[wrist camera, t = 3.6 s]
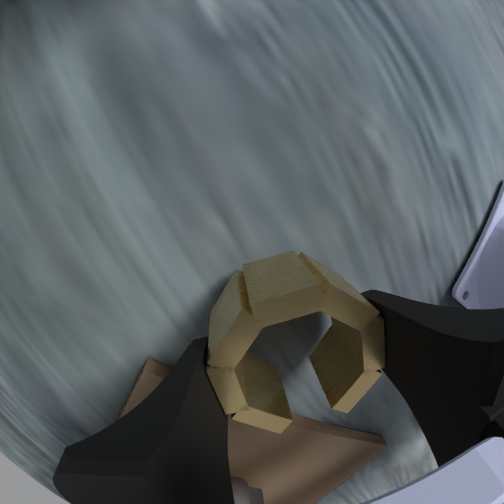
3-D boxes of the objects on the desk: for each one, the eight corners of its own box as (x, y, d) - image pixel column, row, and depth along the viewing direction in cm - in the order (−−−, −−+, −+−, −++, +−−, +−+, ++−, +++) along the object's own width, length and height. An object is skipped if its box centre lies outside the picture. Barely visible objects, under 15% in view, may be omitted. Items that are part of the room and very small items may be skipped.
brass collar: (195, 277, 11) (185, 320, 8) (337, 238, 11) (379, 265, 8) (234, 385, 13) (239, 442, 9) (352, 351, 13) (384, 398, 10)
